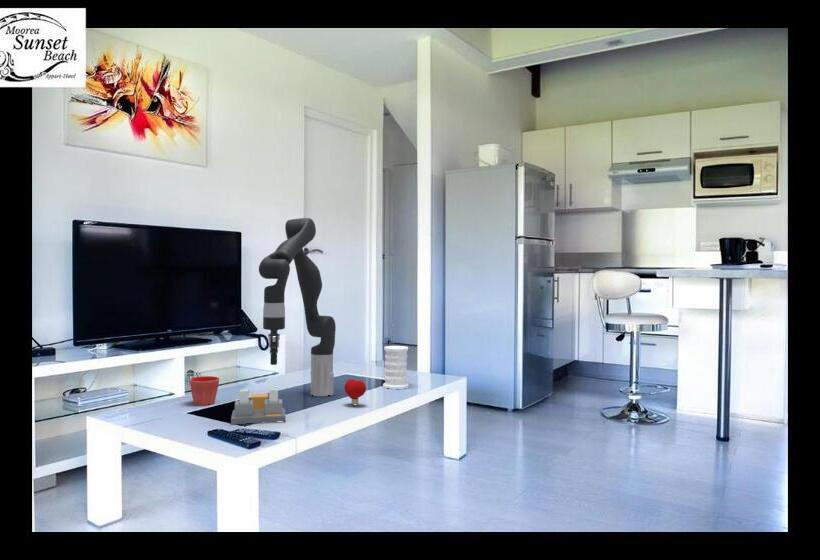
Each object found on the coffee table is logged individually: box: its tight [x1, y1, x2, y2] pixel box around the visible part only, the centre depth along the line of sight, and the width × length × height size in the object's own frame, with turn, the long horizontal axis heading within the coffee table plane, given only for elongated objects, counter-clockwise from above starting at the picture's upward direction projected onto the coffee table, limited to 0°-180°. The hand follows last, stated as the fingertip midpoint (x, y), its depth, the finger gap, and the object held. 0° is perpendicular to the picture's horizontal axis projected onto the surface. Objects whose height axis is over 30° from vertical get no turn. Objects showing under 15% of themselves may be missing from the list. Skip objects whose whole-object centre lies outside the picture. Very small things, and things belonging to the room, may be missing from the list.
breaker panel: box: [230, 398, 286, 425], centre depth 208 cm, size 18×12×6 cm, turn 103°
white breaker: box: [268, 388, 279, 403], centre depth 209 cm, size 3×3×6 cm
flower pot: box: [189, 375, 220, 406], centre depth 230 cm, size 11×11×10 cm
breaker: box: [238, 389, 250, 404], centre depth 206 cm, size 3×3×6 cm
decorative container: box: [382, 345, 409, 388], centre depth 266 cm, size 12×12×18 cm
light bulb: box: [344, 378, 367, 405], centre depth 229 cm, size 9×7×10 cm
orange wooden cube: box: [250, 392, 269, 409], centre depth 220 cm, size 6×6×6 cm
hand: (273, 363), depth 208 cm, fingers open, 5 cm apart
